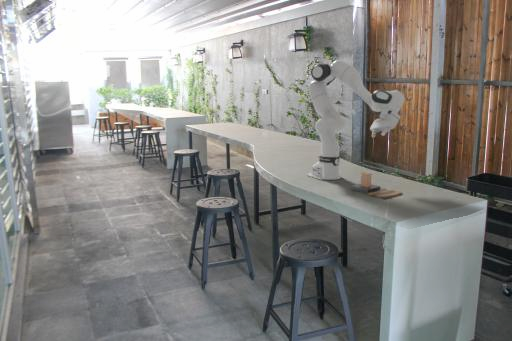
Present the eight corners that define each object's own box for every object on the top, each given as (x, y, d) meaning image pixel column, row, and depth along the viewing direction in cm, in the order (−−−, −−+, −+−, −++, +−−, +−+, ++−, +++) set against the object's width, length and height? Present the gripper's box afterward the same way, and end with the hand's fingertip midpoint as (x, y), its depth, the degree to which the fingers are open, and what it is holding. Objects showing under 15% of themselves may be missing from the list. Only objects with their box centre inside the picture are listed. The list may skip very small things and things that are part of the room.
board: (367, 195, 251) (367, 193, 251) (385, 190, 261) (385, 188, 261) (384, 199, 243) (384, 197, 243) (402, 194, 253) (402, 192, 252)
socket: (351, 189, 262) (351, 185, 262) (363, 186, 270) (363, 182, 269) (367, 193, 254) (367, 189, 253) (380, 190, 261) (380, 186, 260)
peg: (360, 190, 262) (361, 173, 260) (365, 189, 264) (365, 172, 262) (366, 191, 259) (367, 174, 257) (370, 190, 261) (371, 173, 259)
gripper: (373, 115, 276) (363, 134, 273) (394, 110, 256) (384, 131, 254) (381, 121, 277) (371, 140, 275) (402, 116, 258) (392, 137, 255)
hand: (377, 136), depth 264 cm, fingers open, 8 cm apart
